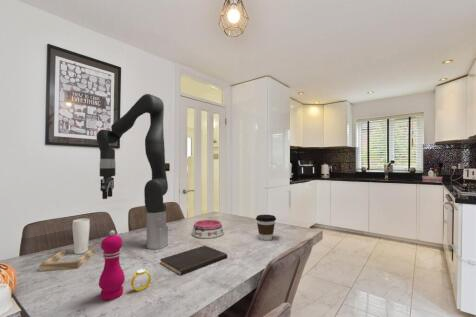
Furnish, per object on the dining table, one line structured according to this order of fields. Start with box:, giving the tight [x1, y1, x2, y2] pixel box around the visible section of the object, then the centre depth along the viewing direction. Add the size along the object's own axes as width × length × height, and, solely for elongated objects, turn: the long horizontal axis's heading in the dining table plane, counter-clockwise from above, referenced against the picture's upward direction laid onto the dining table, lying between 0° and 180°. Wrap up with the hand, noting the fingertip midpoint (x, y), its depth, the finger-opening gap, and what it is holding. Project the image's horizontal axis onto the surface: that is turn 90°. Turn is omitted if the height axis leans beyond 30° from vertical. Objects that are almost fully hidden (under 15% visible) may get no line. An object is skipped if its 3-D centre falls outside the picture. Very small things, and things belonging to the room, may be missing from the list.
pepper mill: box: [98, 229, 126, 301], centre depth 76 cm, size 7×7×20 cm
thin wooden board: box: [38, 247, 96, 272], centre depth 103 cm, size 17×13×2 cm
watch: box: [130, 268, 152, 292], centre depth 80 cm, size 6×3×6 cm, turn 130°
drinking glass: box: [72, 218, 91, 255], centre depth 114 cm, size 7×7×15 cm
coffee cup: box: [255, 214, 277, 242], centre depth 131 cm, size 11×11×12 cm
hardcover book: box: [159, 245, 228, 276], centre depth 103 cm, size 16×23×2 cm
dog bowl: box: [191, 219, 225, 240], centre depth 142 cm, size 18×19×7 cm
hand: (107, 197), depth 131 cm, fingers open, 8 cm apart
